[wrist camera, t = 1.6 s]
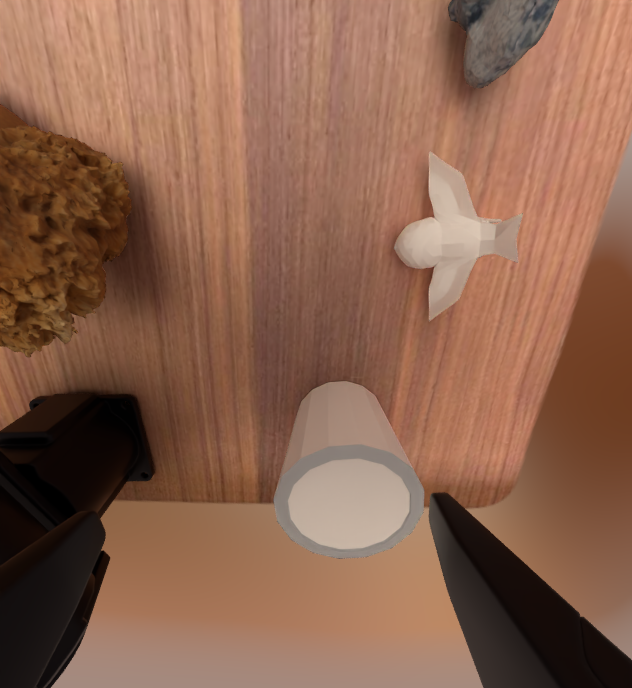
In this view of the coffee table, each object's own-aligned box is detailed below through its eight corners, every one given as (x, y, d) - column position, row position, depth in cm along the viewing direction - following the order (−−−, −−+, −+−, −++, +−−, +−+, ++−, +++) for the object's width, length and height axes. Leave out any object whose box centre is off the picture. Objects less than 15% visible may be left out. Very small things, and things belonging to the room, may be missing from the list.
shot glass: (402, 377, 20) (442, 453, 14) (382, 466, 23) (408, 566, 16) (290, 366, 20) (278, 438, 13) (283, 457, 22) (268, 555, 16)
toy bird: (378, 159, 15) (451, 131, 11) (459, 152, 17) (550, 125, 13) (386, 322, 18) (446, 348, 14) (454, 305, 20) (527, 324, 15)
